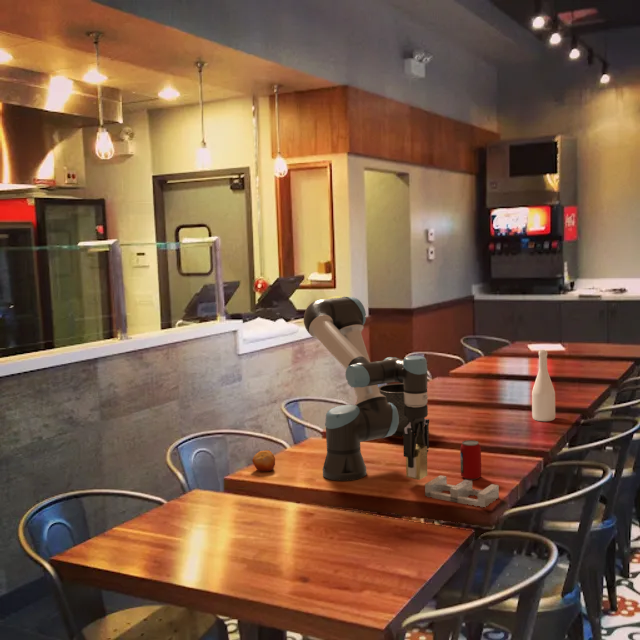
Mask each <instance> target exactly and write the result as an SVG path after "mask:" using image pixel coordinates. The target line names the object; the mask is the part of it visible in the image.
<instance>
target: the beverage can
mask: <svg viewBox="0 0 640 640" xmlns="http://www.w3.org/2000/svg"><path fill="white" fill-rule="evenodd" d="M459 449H460V450H459V451H460V455H459V457H460V461H459V462H460V476H461V477H463V479H464V480H470V481H473V480H474V481H475V480H478V479H479V478H480V477H482V447H481V445H480V443H479V441H478V440H477V441H476V440H471V439H469V440H463V441H462V443H461V445H460V448H459Z"/></svg>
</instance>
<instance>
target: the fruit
mask: <svg viewBox="0 0 640 640" xmlns="http://www.w3.org/2000/svg"><path fill="white" fill-rule="evenodd" d="M252 464H253V466H254V467H255V469H256V471H258V472H261V473H262V472H272V470H274V468H275V465H276V456H275V455H274V453H273V452H272V451H270V450H268V449H265V450H261V451H260V450H259V451H258V452H257V453H255V454H254V456H253V457H252Z"/></svg>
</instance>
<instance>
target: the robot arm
mask: <svg viewBox="0 0 640 640" xmlns="http://www.w3.org/2000/svg"><path fill="white" fill-rule="evenodd" d="M366 316H367V312H366V309H365V307H364V304H363V302H362V301H361V300H360V299H359V298H357V297H354V296H343V297H334V298H321V299H316V300H314V301H313V302H311V303H310V304H309V305H308V306H307V308H306V309H305V310H304V314H303V325H304V327H305V330H306V332H307V333H308V334H309V335H310V336H311V337H312V338H314V339H317V340H318V341H320V343H321V344H322V346H324V347H325V349H326V350H327V351H328V352H329V353H330V354H331V355H332V356H333V357H334V358H335V360H336V361H337V362H338V363H339V364H340V365H341V366H342V368H343V369H344V370H345V380H346V381H347V384H348V386H350V387H351V388H353V391H354V394H355V397H356V398H355V399H356V402H355V404H341V405H338V406H334V407H332V408H330V409H329V410H327V412H326V413H325V423H324V426H325V437H326V457H325V460H324V461H323V462H324V463H323V467H322V477H324V478H325V479H328V480H329V481H330V480H331V481H339V482H343V481H344V482H346V481H348V482H349V481H355V480H359V479H362V478H364V477H366V476H367V466H366V463H365V461H364V458H363V454H362V450H361V442H362V443H363V442H367V441H373V440H378V439H385V438H388V437H391V436H394V435H393V434H394V433H395V432H396V430H397V427H398V423H399V415H398V411H397V408H396V407H395V406H394V404H392V403H388V402H387V399H386V396H384V395H382V394H381V393H380V391H379V388H378V387H379V386H378V385H386V384H392V383H399V384H400V383H403V384H404V403H405V406H404V415H405V417H407V418H408V422H407V426H406V427H403V428H402V430H403V436H402V437H403V445H402V446H403V457H405V458H406V457H408V476H410V477H415V478H416V477H417V470H416V457H415V450H416V444H419V445H425V446H427V453H428V452H429V448H430V436H429V435H430V434H429V432H430V430H429V429H430V428H429V426H430V419H429V418H428V419H427V417H428V414H429V413H428V412H429V411H428V410H429V409H428V408H429V407H428V405H427V404H428V398H429V396H428V372H429V371H428V370H429V369H428V364H427V363H428V361H427V358H426V357H424V356H422V355H420V356H419V355H409V356H405V357H403V359H401V358H398V357H392V356H389V357H386V358H384V359H383V360H378V361H371V360H370V357H369V353H368V351H367V347H366V344H365V342H364V338H363V334H362V332H363V331H364V325H365V324H366V320H367V317H366ZM412 433H414V434H412Z"/></svg>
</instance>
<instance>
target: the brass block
mask: <svg viewBox="0 0 640 640" xmlns="http://www.w3.org/2000/svg"><path fill="white" fill-rule="evenodd" d="M427 450H428V449H427V446H425V445H419V444H417V443H416V450H415V457H416V470H417V477H416V478H415V477H410V476H408V457H405V467H406V468H405V474H406V476H405V477H406V478H409V479H413V480H419V481H420V480H422V479H424V478H426V477H427V476H428V452H427Z"/></svg>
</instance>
